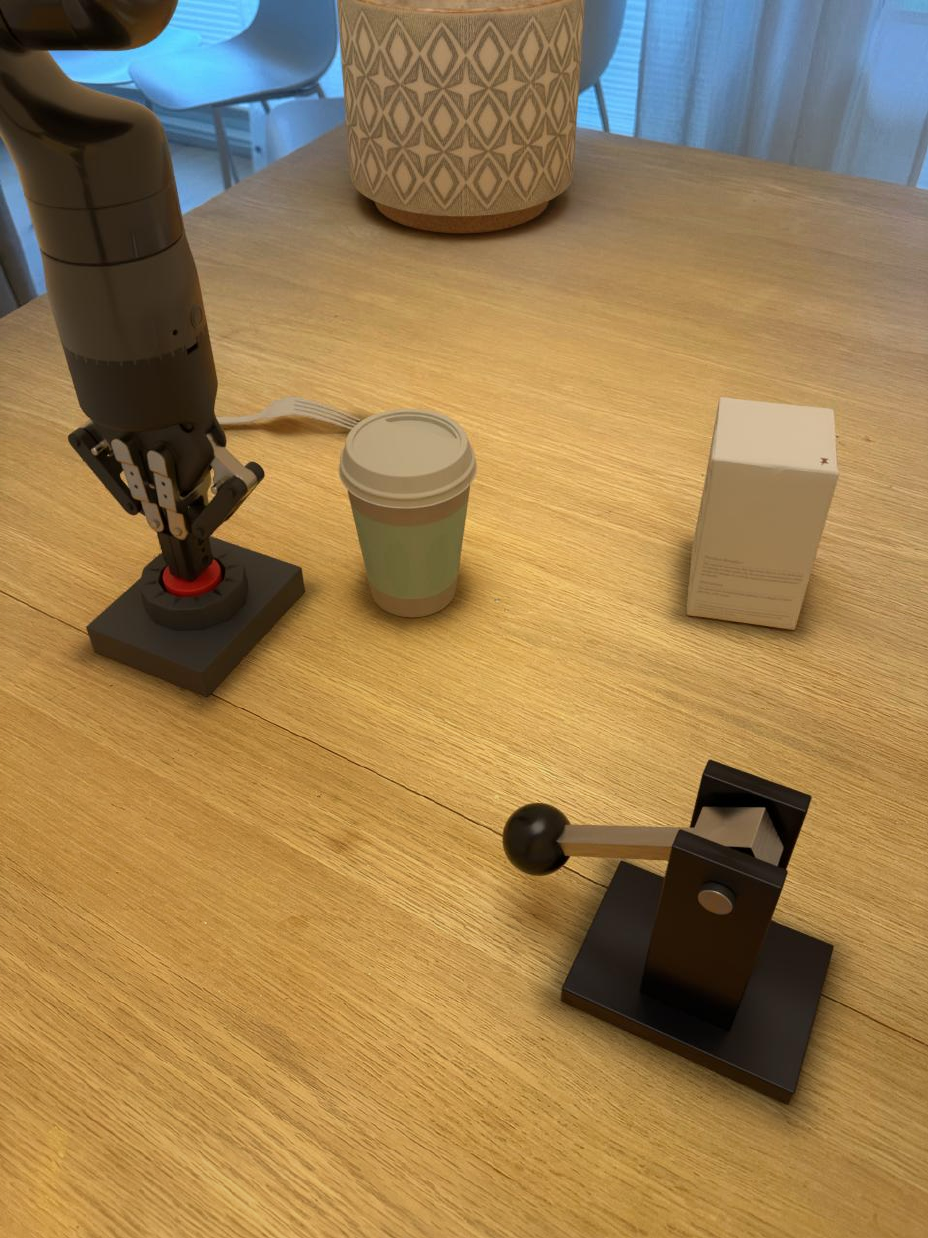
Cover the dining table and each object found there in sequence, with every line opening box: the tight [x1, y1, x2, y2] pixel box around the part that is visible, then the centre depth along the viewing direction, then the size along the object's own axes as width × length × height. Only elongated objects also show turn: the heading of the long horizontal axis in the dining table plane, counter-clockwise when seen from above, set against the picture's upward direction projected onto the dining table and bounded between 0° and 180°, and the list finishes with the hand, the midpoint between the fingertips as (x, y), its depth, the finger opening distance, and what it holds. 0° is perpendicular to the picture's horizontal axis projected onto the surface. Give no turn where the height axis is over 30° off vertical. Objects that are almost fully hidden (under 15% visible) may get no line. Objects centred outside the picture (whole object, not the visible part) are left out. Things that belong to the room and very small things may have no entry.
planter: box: [336, 0, 586, 234], centre depth 115 cm, size 26×26×22 cm
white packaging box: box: [686, 396, 840, 630], centre depth 68 cm, size 7×7×13 cm
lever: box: [501, 802, 783, 877], centre depth 47 cm, size 13×3×3 cm, turn 63°
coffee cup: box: [338, 408, 478, 618], centre depth 68 cm, size 9×9×12 cm
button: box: [163, 559, 223, 597], centre depth 67 cm, size 4×4×2 cm
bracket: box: [560, 759, 835, 1105], centre depth 47 cm, size 11×8×13 cm
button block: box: [85, 535, 306, 698], centre depth 68 cm, size 11×9×4 cm
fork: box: [216, 396, 361, 431], centre depth 87 cm, size 3×21×3 cm, turn 91°
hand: (191, 571), depth 67 cm, fingers closed
